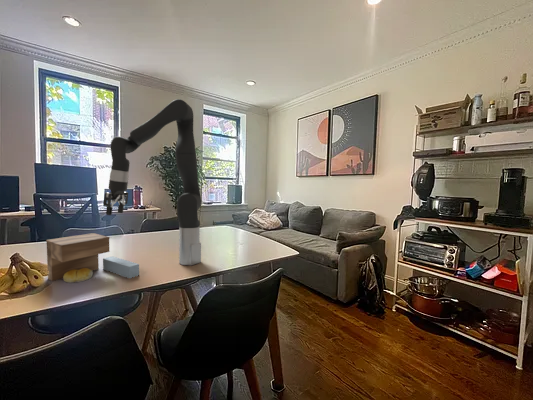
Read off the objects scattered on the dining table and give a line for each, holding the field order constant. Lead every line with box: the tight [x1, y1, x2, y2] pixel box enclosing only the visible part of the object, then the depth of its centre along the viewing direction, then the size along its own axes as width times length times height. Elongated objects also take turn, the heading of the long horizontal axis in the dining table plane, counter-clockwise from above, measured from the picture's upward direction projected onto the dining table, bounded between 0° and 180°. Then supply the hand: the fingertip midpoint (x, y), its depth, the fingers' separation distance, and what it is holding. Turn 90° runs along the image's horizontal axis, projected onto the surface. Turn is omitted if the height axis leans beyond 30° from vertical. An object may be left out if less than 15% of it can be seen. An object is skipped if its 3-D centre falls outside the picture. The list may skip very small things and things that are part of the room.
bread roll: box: [62, 268, 94, 284], centre depth 96 cm, size 8×9×4 cm
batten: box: [102, 256, 140, 279], centre depth 104 cm, size 19×4×5 cm, turn 61°
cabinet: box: [45, 232, 110, 282], centre depth 99 cm, size 13×16×15 cm
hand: (114, 213), depth 118 cm, fingers open, 8 cm apart
